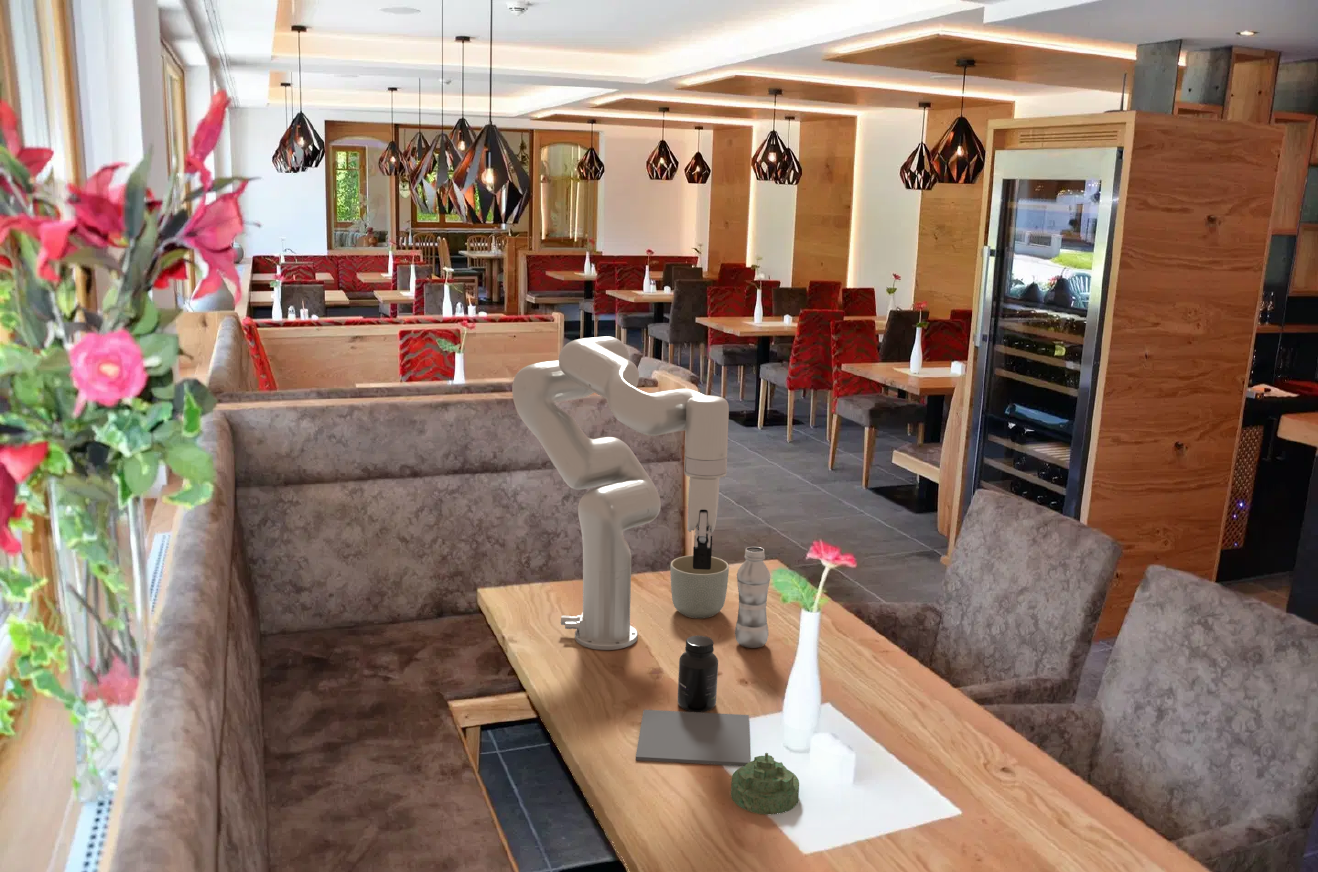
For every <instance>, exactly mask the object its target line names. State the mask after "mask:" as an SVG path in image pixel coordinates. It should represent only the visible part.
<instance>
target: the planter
mask: <svg viewBox="0 0 1318 872" xmlns="http://www.w3.org/2000/svg"><path fill="white" fill-rule="evenodd" d="M729 568H730V567H729V563H728V562H727V561H726V560H723V559H722V558H720V557H715V556H711V569H710V570H704V569H694V568H693V555H684V556H680V557H677V558H674V559H673V560H672V561H671V562H670V589H671V590H670V591H671V599H672V604H673V607H674V608H675V610H677V612H679V613H680V614H681V615H683V616H685V617H687V618H692V619H707V618H711V617H714V616H715V615H717V614H718V613H720V612H721V611H722V609H723V607H724V605H725V602H726V597H727V592H728V582H729V574H730V572H729V571H730V569H729Z"/></svg>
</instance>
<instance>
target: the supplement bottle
mask: <svg viewBox="0 0 1318 872" xmlns="http://www.w3.org/2000/svg"><path fill="white" fill-rule="evenodd" d="M714 650H715V649H714V640H713V639H712V638H711V637H709V636H706V635H692V636H688V637H687V638H686V640H685V647H684V652H683V653H682V654H681V655H680V657H679V661H678V679H677V680H678V681H677V704H678V705H679V707H680V708H682V709H683V710H685V711H686V712H701V713H707V712H709V711H711V710H713V709H714V708H715V707H716V704H717V696H718V695H717V693H718V676H719V675H718V674H719V660H718V657H717V656H716V654H715V653H714Z"/></svg>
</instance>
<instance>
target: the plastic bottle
mask: <svg viewBox="0 0 1318 872" xmlns="http://www.w3.org/2000/svg"><path fill="white" fill-rule="evenodd" d="M743 557H744V560H745V561H744V562H743V563H742V564H741V565H740V567H739V568H738V569H737V573H736V582H737V590H738V611H737V618H736V620H737V621H736V622H735V623H736V624H735V628H734V637H735V641H736V642H737V644H738V645H739V646H741V647H744V648H748V649H749V648H751V649H753V648H754V649H755V648H762V647H764V646H765V644H766V643H767V642H768V638H769V625H768V623H767V622H768V619H767V618H768V617H767V602H768V601H767V600H768V592H769V588H770V583H771V582H770V581H771V572H770V570H769V568H768V567H767V565H766V564H765V562H764V561H765V557H766V556H765V549H764V548H763V547H759V546H748V547H745V551H744V556H743Z"/></svg>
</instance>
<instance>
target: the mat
mask: <svg viewBox="0 0 1318 872" xmlns="http://www.w3.org/2000/svg"><path fill="white" fill-rule="evenodd" d="M641 717H642V718H641V723H640V729H639V735H638V741H637V747H636V753H635V761H642V762H643V761H644V762H662V763H663V762H664V763H681V764H701V765H714V766H715V765H717V766H718V765H719V766H734V765H738V766H739V767H743V766H745V765H746V764H747V763H749V762H751V746H750V745H751V743H750V739H751V738H750V719H749V718H750V714H737V713H720V712H719V713H718V712H717V713H716V712H691V711H680V710H679V711H676V710H659V709H643V711H642V716H641ZM738 766H737V767H738Z"/></svg>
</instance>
